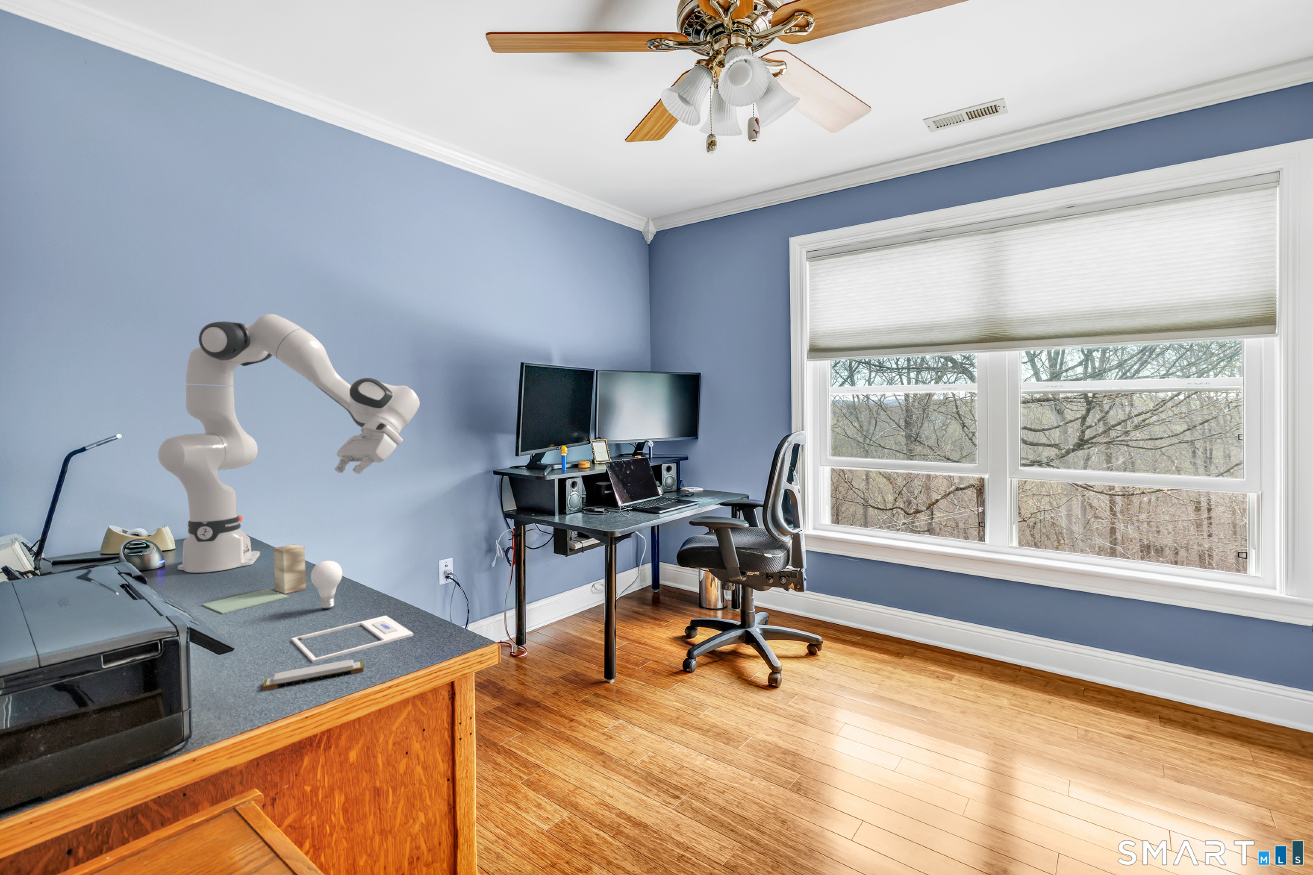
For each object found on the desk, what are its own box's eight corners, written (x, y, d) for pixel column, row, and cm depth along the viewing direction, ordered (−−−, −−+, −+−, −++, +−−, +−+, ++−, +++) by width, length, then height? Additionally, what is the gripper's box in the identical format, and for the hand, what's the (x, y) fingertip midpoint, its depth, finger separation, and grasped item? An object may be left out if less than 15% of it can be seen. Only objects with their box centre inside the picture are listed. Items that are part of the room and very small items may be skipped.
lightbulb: (319, 615, 132) (317, 565, 132) (306, 609, 136) (305, 561, 136) (348, 607, 137) (347, 560, 137) (335, 602, 141) (334, 556, 141)
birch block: (296, 586, 154) (294, 544, 154) (306, 589, 152) (304, 546, 151) (275, 591, 150) (273, 548, 150) (284, 594, 147) (283, 550, 147)
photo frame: (413, 632, 120) (312, 659, 107) (413, 637, 120) (313, 665, 107) (386, 614, 130) (291, 637, 118) (386, 619, 130) (291, 642, 118)
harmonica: (362, 667, 106) (362, 656, 106) (363, 674, 103) (363, 662, 103) (265, 685, 99) (264, 674, 99) (262, 693, 97) (262, 681, 97)
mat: (267, 589, 151) (267, 588, 151) (289, 597, 145) (289, 595, 145) (201, 605, 140) (201, 604, 140) (222, 613, 134) (222, 612, 134)
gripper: (351, 427, 174) (318, 463, 166) (390, 425, 162) (357, 465, 154) (367, 441, 178) (336, 478, 170) (406, 440, 166) (375, 480, 158)
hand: (346, 471), depth 162 cm, fingers open, 8 cm apart
